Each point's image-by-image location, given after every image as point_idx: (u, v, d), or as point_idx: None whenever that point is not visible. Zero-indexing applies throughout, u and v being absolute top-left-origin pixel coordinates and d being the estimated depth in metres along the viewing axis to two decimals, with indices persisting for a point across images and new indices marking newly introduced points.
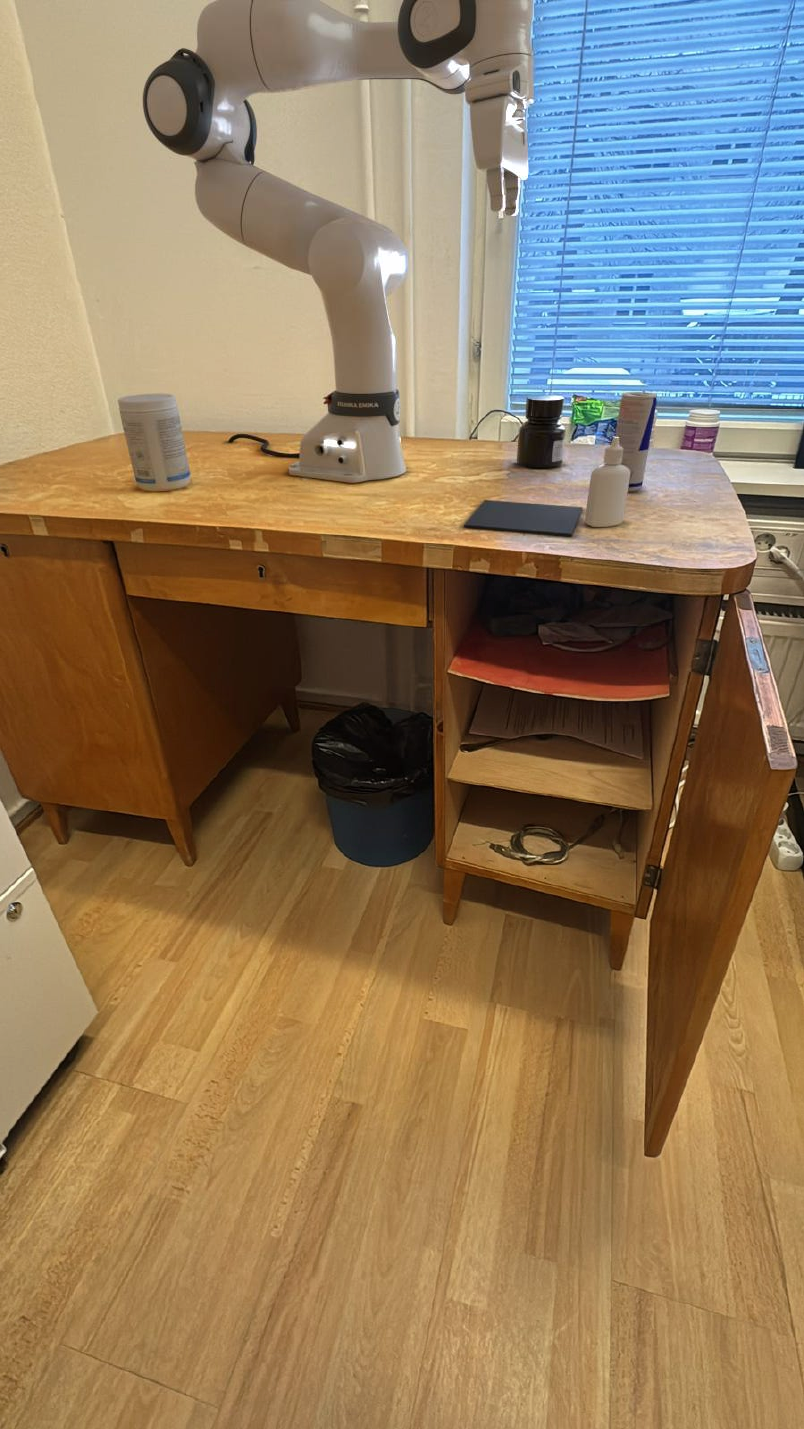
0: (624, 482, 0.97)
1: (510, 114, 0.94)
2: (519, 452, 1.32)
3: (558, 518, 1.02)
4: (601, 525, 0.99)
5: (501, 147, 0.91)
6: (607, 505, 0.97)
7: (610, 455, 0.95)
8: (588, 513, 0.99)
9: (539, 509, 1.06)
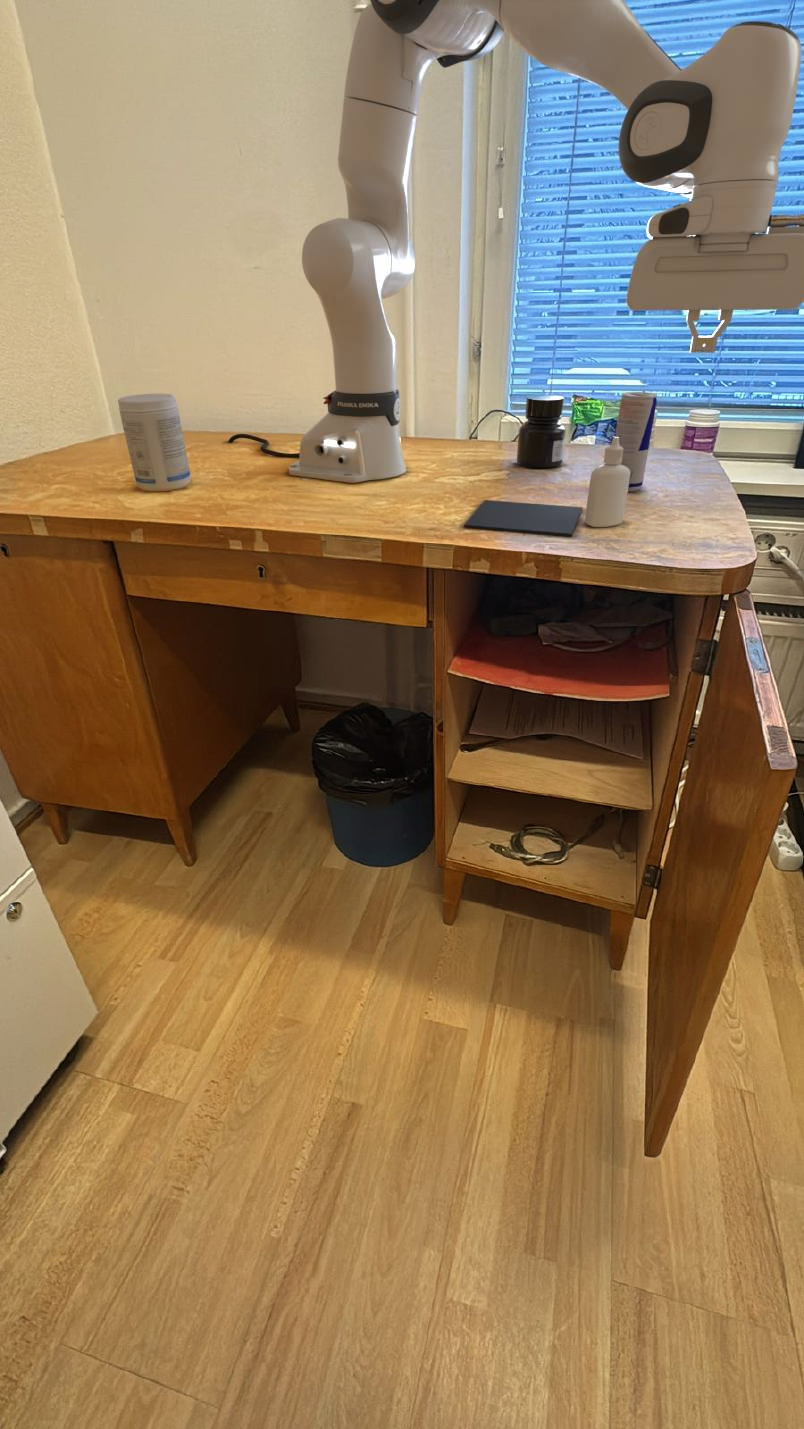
0: (624, 482, 0.97)
1: (683, 252, 0.80)
2: (519, 452, 1.32)
3: (558, 518, 1.02)
4: (601, 525, 0.99)
5: (629, 294, 0.84)
6: (607, 505, 0.97)
7: (610, 455, 0.95)
8: (588, 513, 0.99)
9: (539, 509, 1.06)
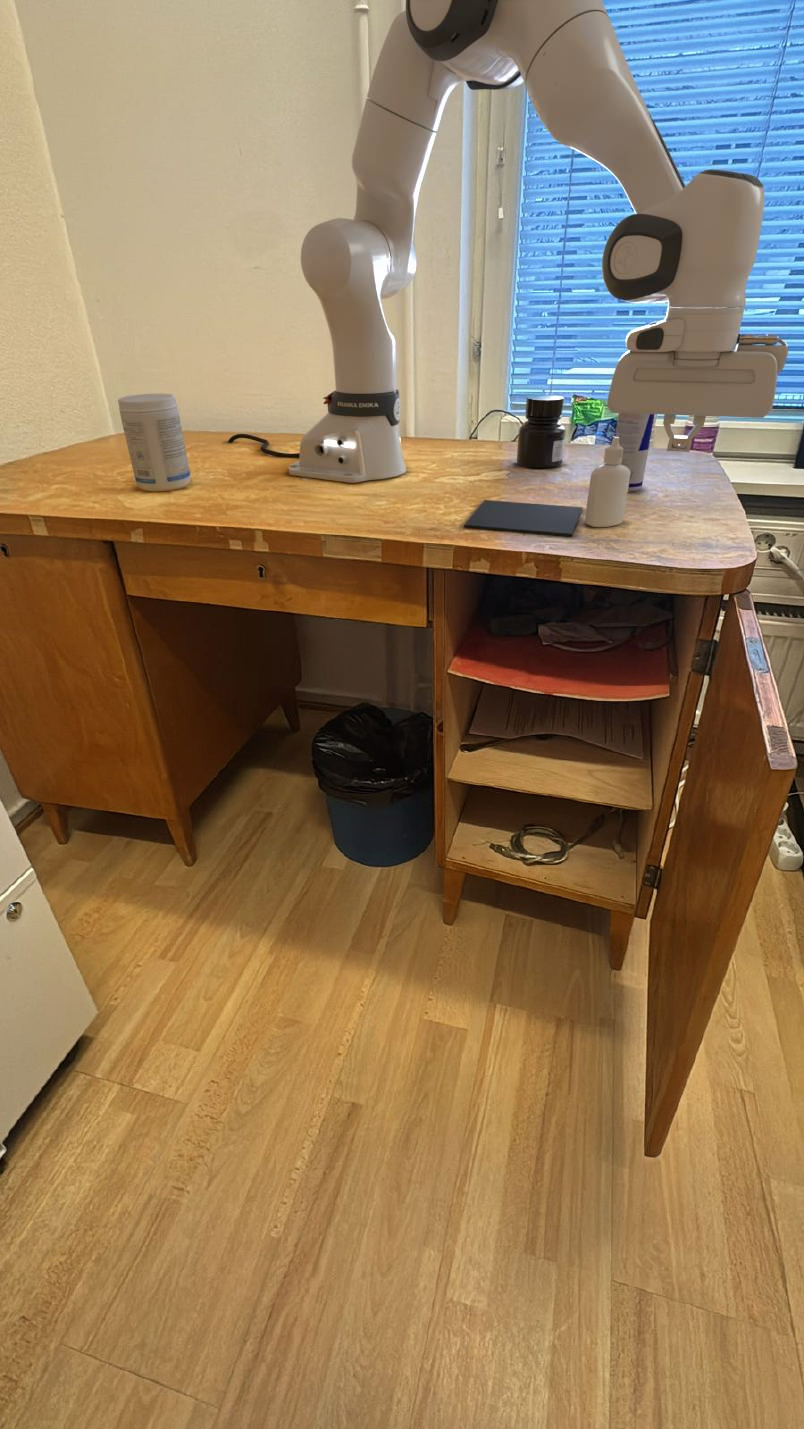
0: (624, 482, 0.97)
1: (659, 364, 0.86)
2: (519, 452, 1.32)
3: (558, 518, 1.02)
4: (601, 525, 0.99)
5: (609, 398, 0.90)
6: (607, 505, 0.97)
7: (610, 455, 0.95)
8: (588, 513, 0.99)
9: (539, 509, 1.06)
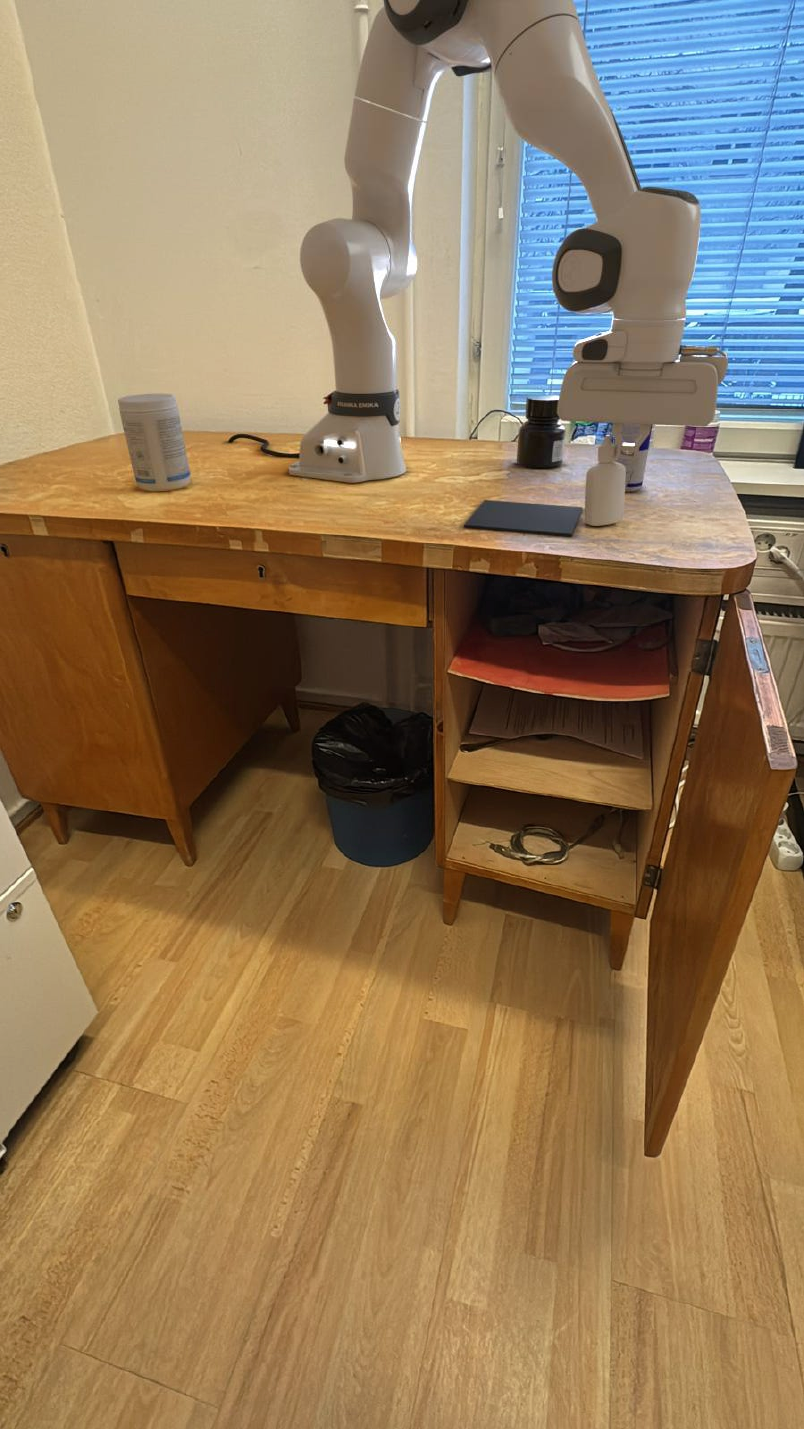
0: (620, 479, 0.97)
1: (605, 374, 0.89)
2: (519, 452, 1.32)
3: (558, 518, 1.02)
4: (601, 523, 0.99)
5: (559, 407, 0.93)
6: (605, 503, 0.97)
7: (603, 453, 0.95)
8: (587, 513, 0.99)
9: (539, 509, 1.06)
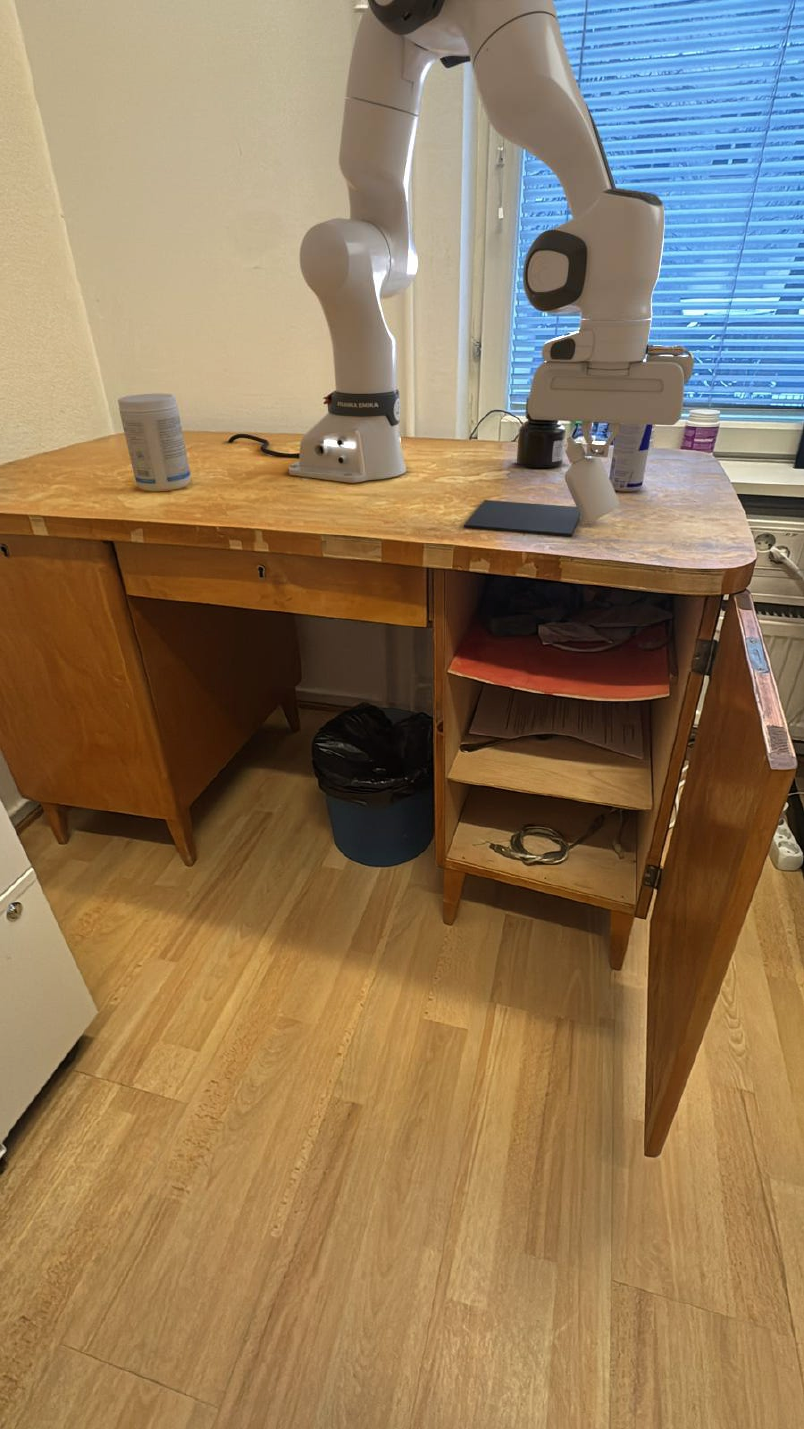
0: (599, 469, 0.97)
1: (573, 373, 0.90)
2: (519, 452, 1.32)
3: (558, 518, 1.02)
4: (598, 516, 0.98)
5: (529, 406, 0.94)
6: (593, 496, 0.98)
7: (571, 454, 0.97)
8: (581, 513, 0.99)
9: (539, 509, 1.06)
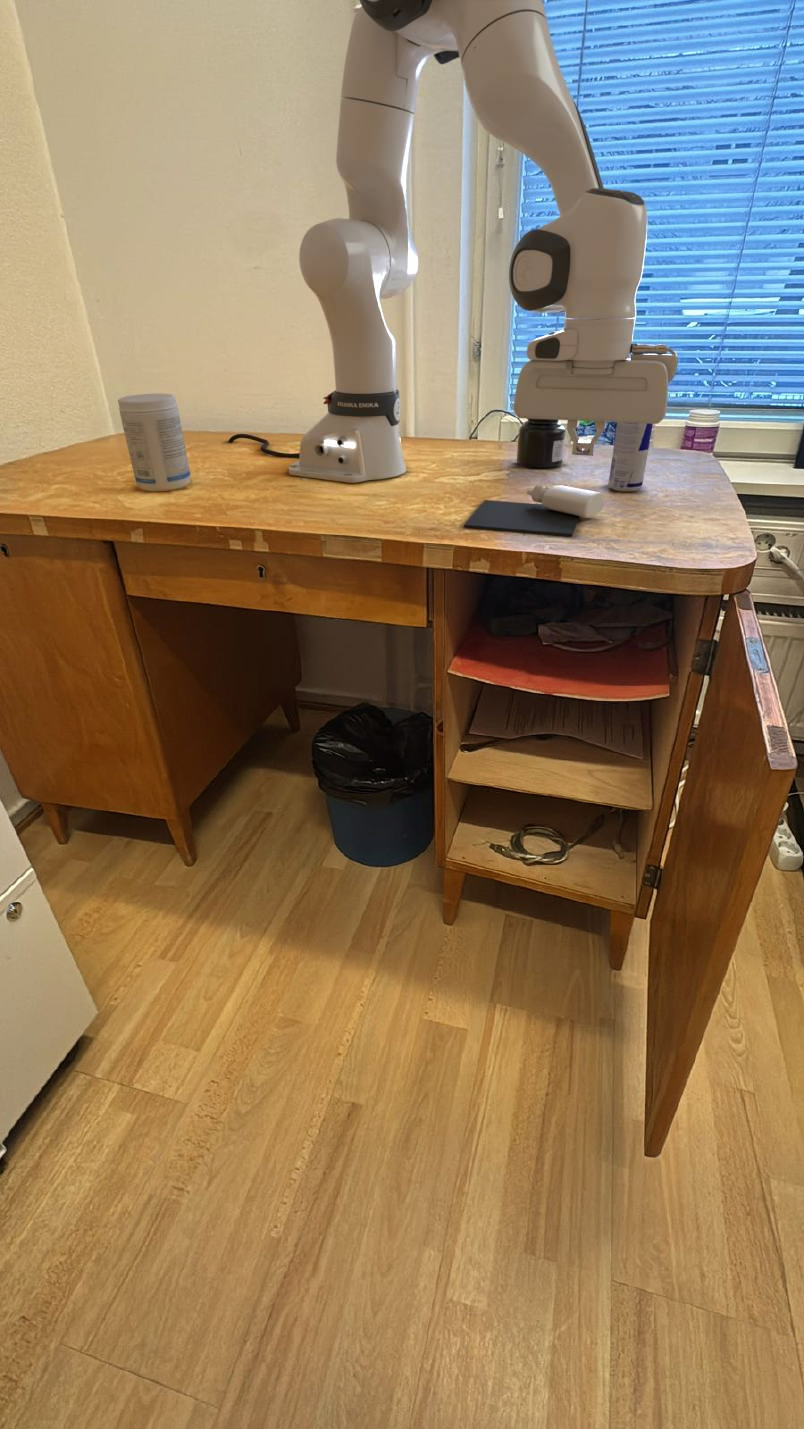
0: (566, 486, 1.05)
1: (558, 372, 0.90)
2: (519, 452, 1.32)
3: (558, 518, 1.02)
4: (590, 497, 1.00)
5: (515, 405, 0.94)
6: (574, 492, 1.02)
7: (536, 491, 1.06)
8: (575, 509, 1.01)
9: (539, 509, 1.06)
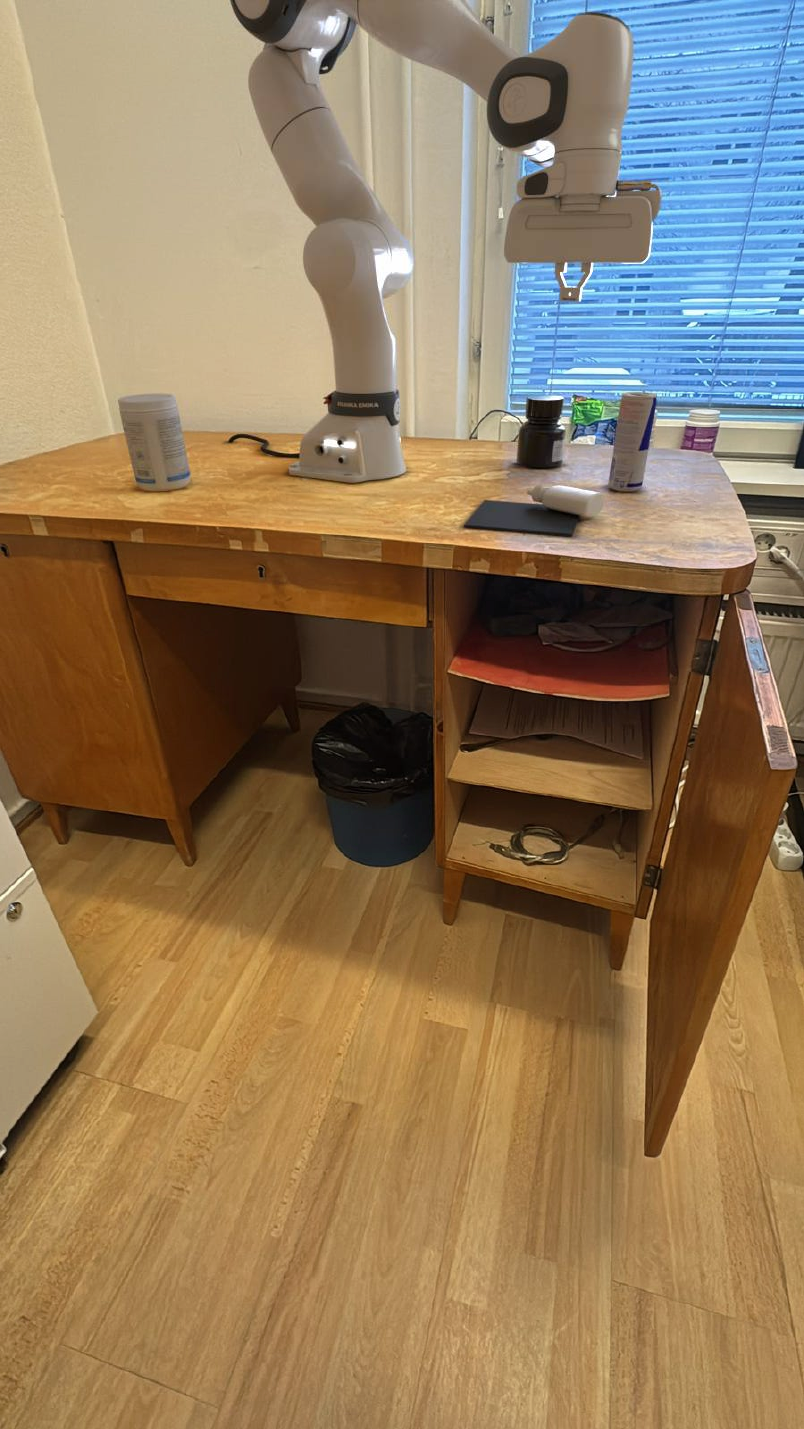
0: (566, 486, 1.05)
1: (547, 211, 0.94)
2: (519, 452, 1.32)
3: (558, 518, 1.02)
4: (590, 496, 1.00)
5: (505, 248, 0.97)
6: (575, 491, 1.02)
7: (537, 491, 1.06)
8: (575, 508, 1.01)
9: (539, 509, 1.06)
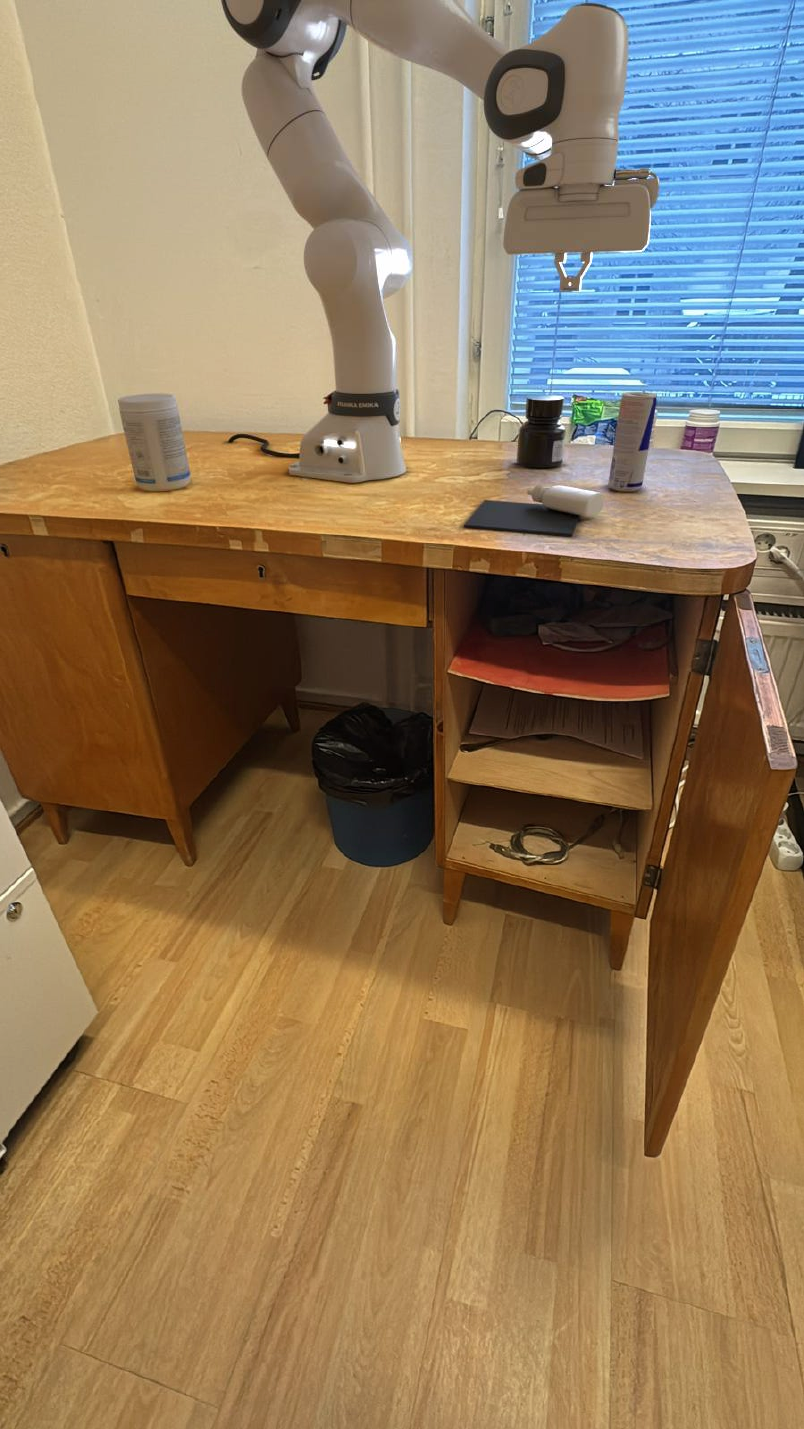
0: (566, 486, 1.05)
1: (546, 202, 0.94)
2: (519, 452, 1.32)
3: (558, 518, 1.02)
4: (590, 496, 1.00)
5: (504, 239, 0.98)
6: (575, 491, 1.02)
7: (537, 491, 1.06)
8: (575, 508, 1.01)
9: (539, 509, 1.06)
